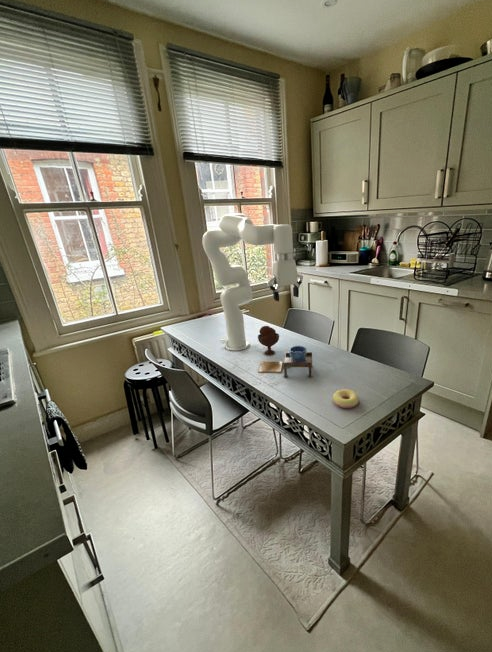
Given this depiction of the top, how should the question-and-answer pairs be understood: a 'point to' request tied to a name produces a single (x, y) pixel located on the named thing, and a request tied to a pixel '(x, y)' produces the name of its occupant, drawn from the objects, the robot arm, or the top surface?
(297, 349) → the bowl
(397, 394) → the top surface
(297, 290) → the robot arm
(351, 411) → the top surface
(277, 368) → the mat
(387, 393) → the top surface
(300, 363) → the stand
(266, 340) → the ice cream bowl
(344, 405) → the donut
